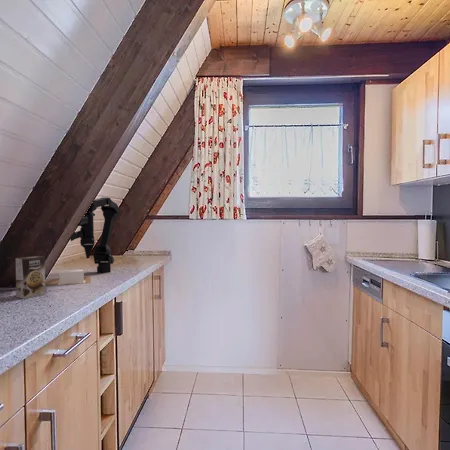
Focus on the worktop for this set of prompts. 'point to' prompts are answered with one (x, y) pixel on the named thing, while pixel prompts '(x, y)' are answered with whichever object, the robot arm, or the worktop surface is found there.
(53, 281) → the board
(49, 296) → the worktop surface
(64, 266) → the worktop surface
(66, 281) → the block
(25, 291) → the cookie box
